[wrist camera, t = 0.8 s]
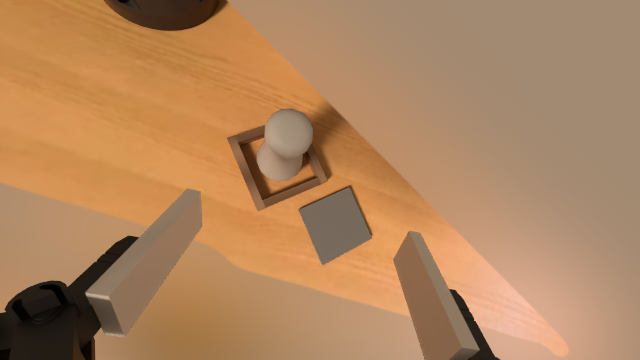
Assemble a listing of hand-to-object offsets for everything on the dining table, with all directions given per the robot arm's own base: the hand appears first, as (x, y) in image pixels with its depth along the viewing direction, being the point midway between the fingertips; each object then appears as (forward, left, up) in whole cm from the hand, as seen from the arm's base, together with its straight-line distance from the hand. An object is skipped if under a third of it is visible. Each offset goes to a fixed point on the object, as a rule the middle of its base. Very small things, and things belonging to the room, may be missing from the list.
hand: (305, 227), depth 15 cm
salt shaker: (-8, +3, -17) cm, 19 cm away
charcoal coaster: (+3, +7, -17) cm, 18 cm away
